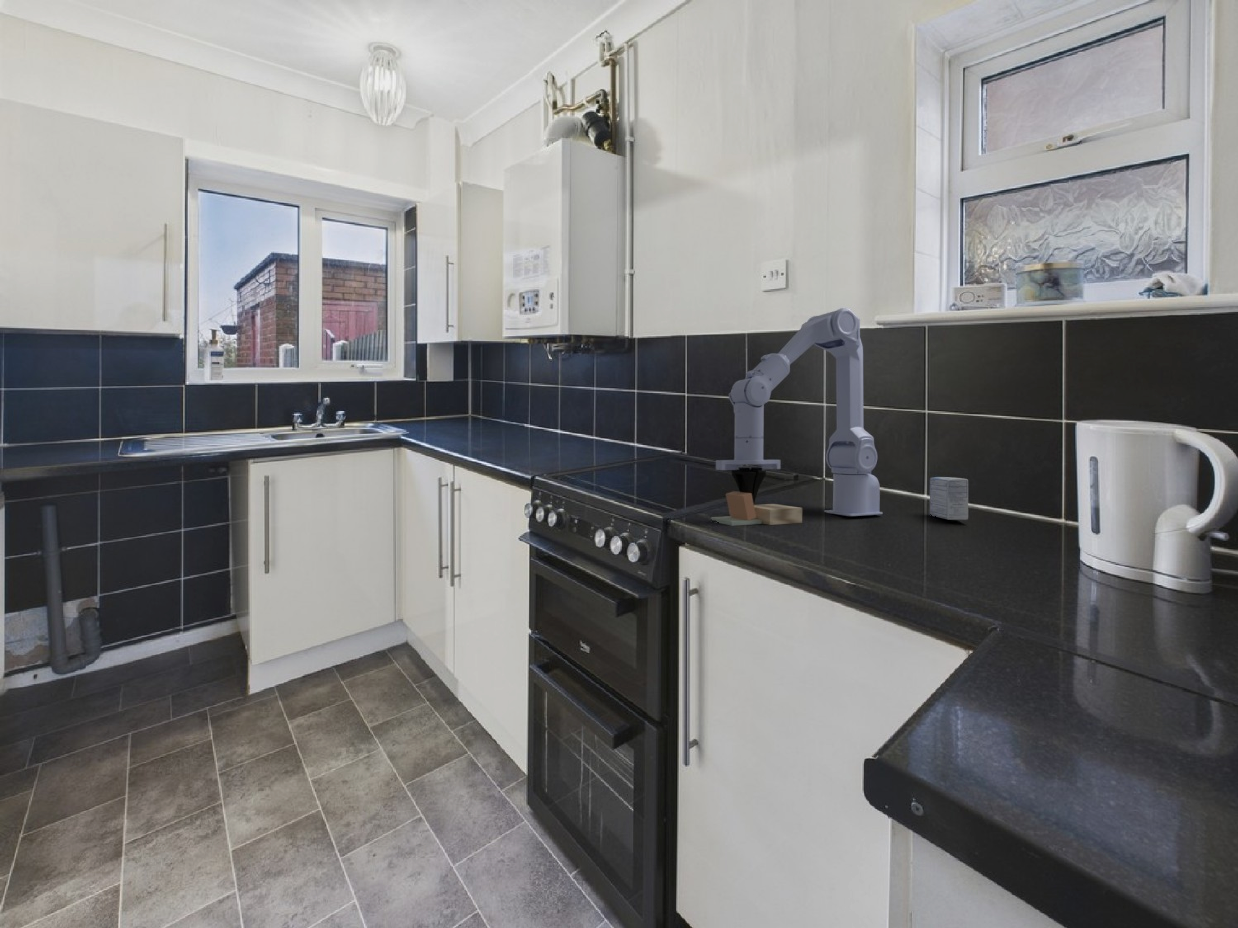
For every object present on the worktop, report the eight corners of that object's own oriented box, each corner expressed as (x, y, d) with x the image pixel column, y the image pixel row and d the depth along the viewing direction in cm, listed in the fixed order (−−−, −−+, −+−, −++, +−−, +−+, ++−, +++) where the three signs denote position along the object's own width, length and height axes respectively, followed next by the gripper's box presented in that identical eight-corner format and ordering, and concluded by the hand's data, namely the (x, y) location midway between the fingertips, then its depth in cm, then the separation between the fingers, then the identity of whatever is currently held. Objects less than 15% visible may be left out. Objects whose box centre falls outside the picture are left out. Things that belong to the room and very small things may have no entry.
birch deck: (773, 517, 130) (773, 503, 130) (802, 522, 122) (802, 507, 122) (742, 519, 127) (742, 505, 127) (770, 524, 119) (770, 509, 119)
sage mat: (739, 519, 127) (739, 515, 127) (761, 523, 120) (761, 519, 120) (710, 521, 124) (710, 517, 124) (732, 525, 117) (732, 521, 117)
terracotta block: (733, 491, 125) (725, 493, 124) (751, 493, 119) (743, 496, 118) (738, 514, 125) (730, 517, 125) (756, 517, 120) (748, 520, 119)
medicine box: (968, 520, 127) (969, 479, 127) (947, 520, 127) (948, 478, 127) (949, 515, 135) (949, 477, 135) (928, 515, 135) (929, 476, 135)
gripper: (765, 438, 129) (764, 502, 129) (707, 438, 123) (707, 505, 123) (787, 438, 122) (786, 505, 123) (727, 437, 116) (727, 508, 117)
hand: (748, 505), depth 123 cm, fingers closed
